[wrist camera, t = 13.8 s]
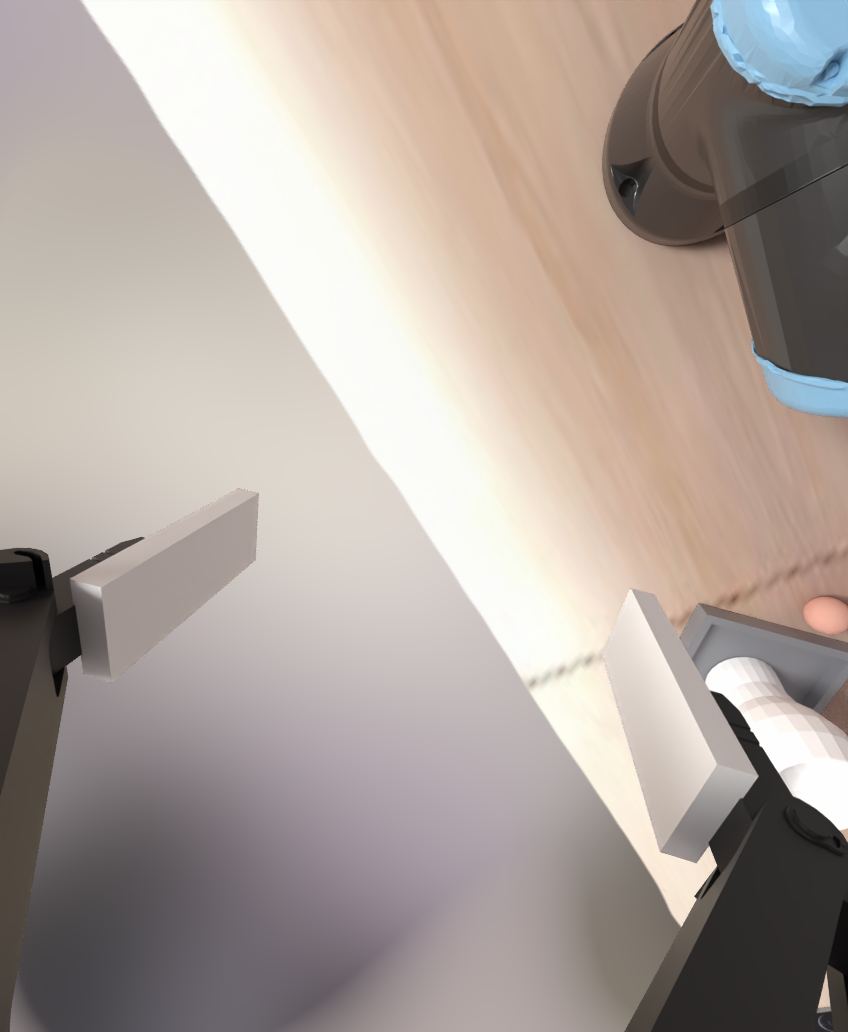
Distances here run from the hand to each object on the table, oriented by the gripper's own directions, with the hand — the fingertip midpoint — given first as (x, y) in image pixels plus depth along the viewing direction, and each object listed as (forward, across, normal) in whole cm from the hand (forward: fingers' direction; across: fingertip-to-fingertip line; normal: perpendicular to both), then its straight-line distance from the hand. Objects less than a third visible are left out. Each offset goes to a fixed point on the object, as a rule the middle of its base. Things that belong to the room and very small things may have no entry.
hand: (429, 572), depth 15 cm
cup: (+36, +38, -24) cm, 58 cm away
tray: (+37, +38, -24) cm, 58 cm away
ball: (+37, +41, -12) cm, 57 cm away
